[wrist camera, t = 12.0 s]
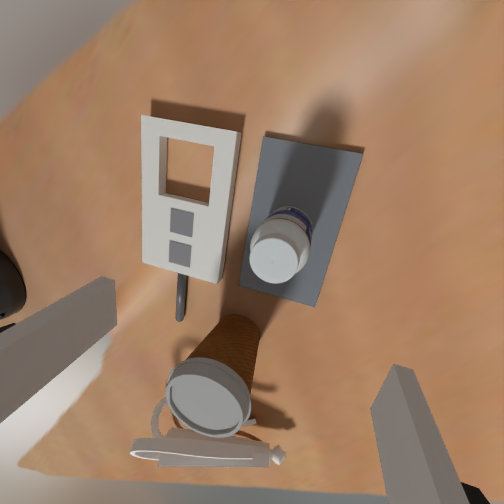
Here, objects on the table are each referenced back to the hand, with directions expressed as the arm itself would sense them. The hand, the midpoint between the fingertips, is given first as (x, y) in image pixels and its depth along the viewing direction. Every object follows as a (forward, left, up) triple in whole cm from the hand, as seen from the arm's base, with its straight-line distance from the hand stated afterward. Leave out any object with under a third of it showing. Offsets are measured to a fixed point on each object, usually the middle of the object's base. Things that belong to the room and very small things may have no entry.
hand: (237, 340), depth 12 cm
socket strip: (-13, -4, -20) cm, 24 cm away
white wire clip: (-5, -35, -20) cm, 41 cm away
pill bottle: (0, 0, -19) cm, 19 cm away
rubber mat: (0, 0, -20) cm, 20 cm away
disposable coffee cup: (-4, -17, -20) cm, 26 cm away
